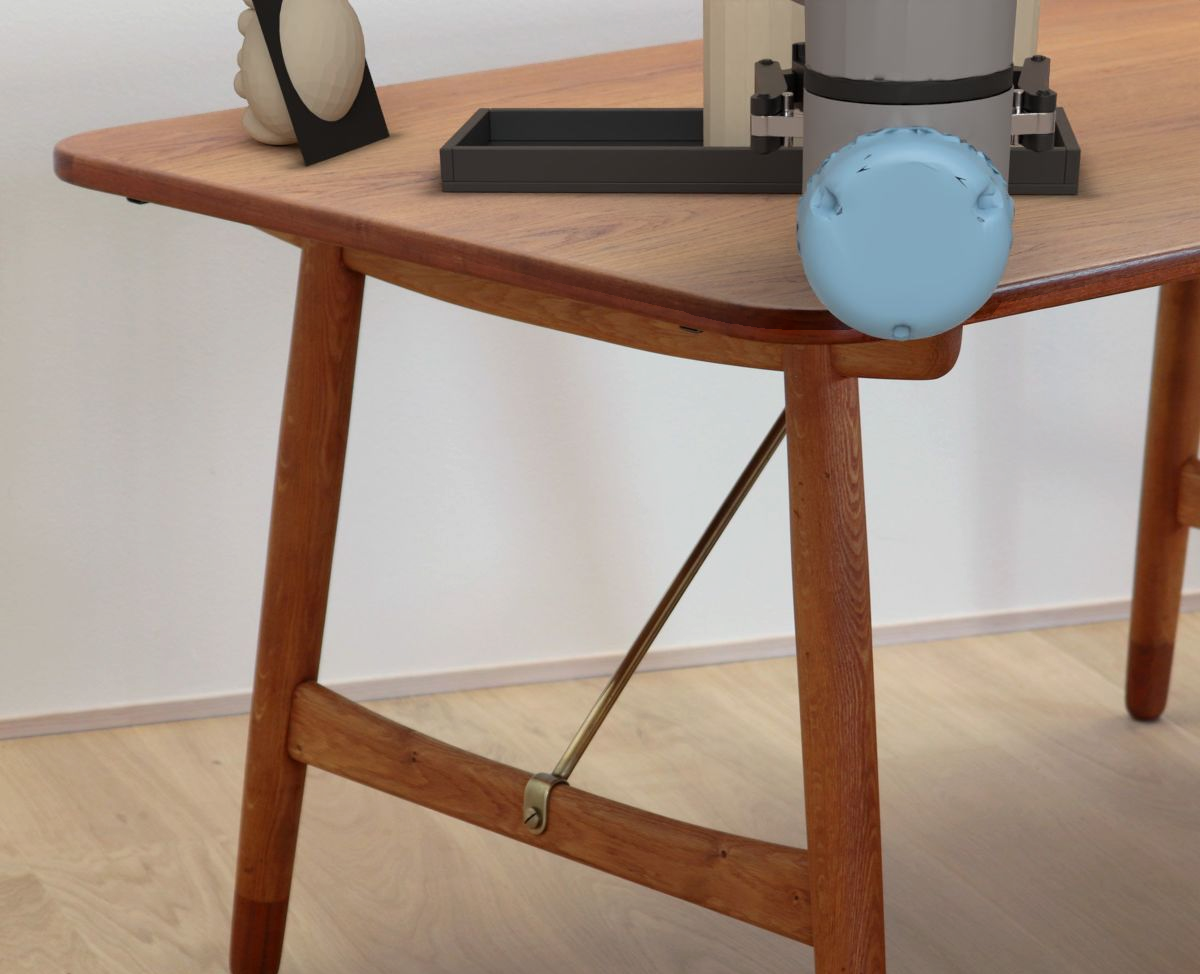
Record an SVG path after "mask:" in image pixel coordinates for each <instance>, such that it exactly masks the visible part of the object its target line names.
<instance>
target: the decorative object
mask: <svg viewBox="0 0 1200 974" xmlns="http://www.w3.org/2000/svg"><path fill="white" fill-rule="evenodd" d="M242 1H243V3H244V4H245V5H246V7H248V8H246V9H244V10H242V11H241V13H240V14H239V15H238V18H237V30H238V32H239V33H240V34H241V36H243V41H242V46H241V48H240V49H239V51H238V52H237V54H236V55H237V56H236V63H237V66H238V68H239V69H240V70H239V71H237V73H236V74H235V75H234V79H233V84H232V85H233V89H234V93H236V95H237V96H238V97H240V98H242V99H244V100H246V103H247V104H248V106H247V107H246V108H245V109H244V111H243V113H242V115H241V126H242V128H243V130H244V132H246V133H247V135H248V136H249V137H251V138H252V139H254V140H255V141H258V142H260V143H263V144H267V145H273V146H274V145H275V146H285V145H293V144H298V146H299V150H300V153H301V156H302V159H303V162H304V165H305V167H309V166H312V165H314V164H317V163H320V162H323V161H325V160H329V159H332V158H334V157H337V156H339V155H342V154H345V153H348V152H350V151H354V150H356V149H360V148H362V147H365V146H368V145H370V144H373V143H376V142H379V141H381V140H382V141H383V140H384V139H387V138H389V137H391V136H390V132H389V128H388V125H387V122H386V119H385V116H384V113H383V109H382V106H381V102H380V99H379V95H378V93H377V89H376V87H375V83H374V81H373V77H372V74H371V71H370V67H369V64H368V60H367V58H366V44H365V36H364V31H363V28H362V25H361V22H360V19H359V16H358V14H357V12H356V11H355V8H354V7H353V6H352V4H351V3H350V1H349V0H242Z"/></svg>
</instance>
